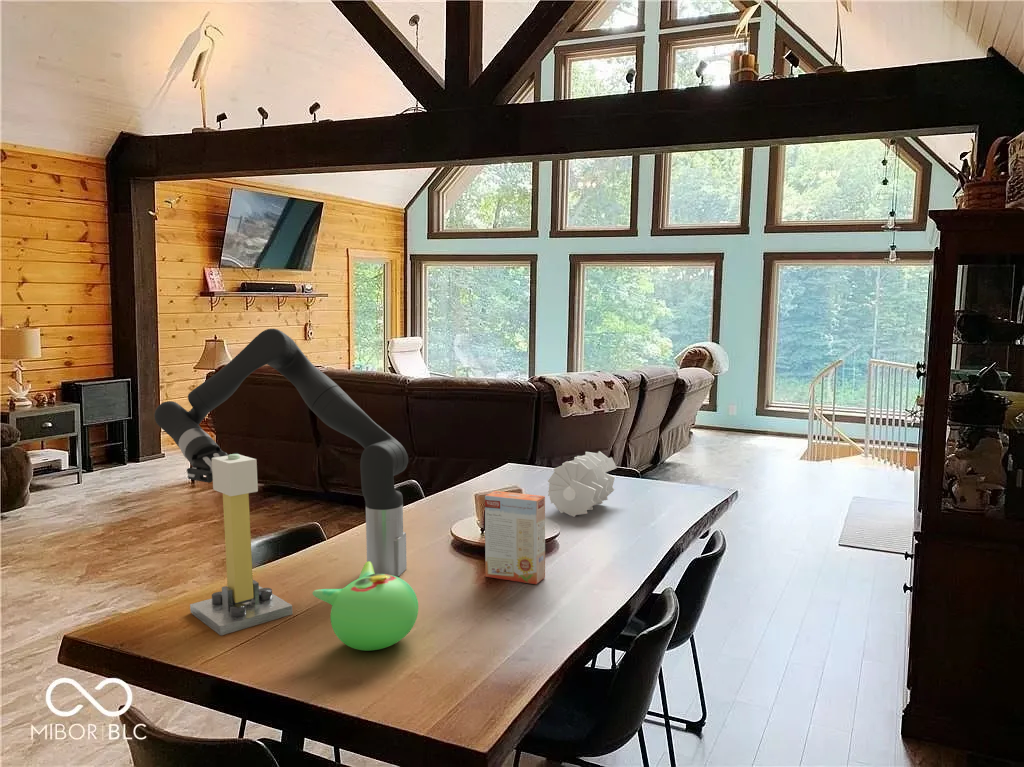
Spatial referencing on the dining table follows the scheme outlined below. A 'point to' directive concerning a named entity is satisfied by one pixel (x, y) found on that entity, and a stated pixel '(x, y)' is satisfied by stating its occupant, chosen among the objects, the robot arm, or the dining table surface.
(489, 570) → the cracker box
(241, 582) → the post
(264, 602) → the tripod base plate
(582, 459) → the spiral staircase
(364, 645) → the green horned blob
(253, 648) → the dining table surface
